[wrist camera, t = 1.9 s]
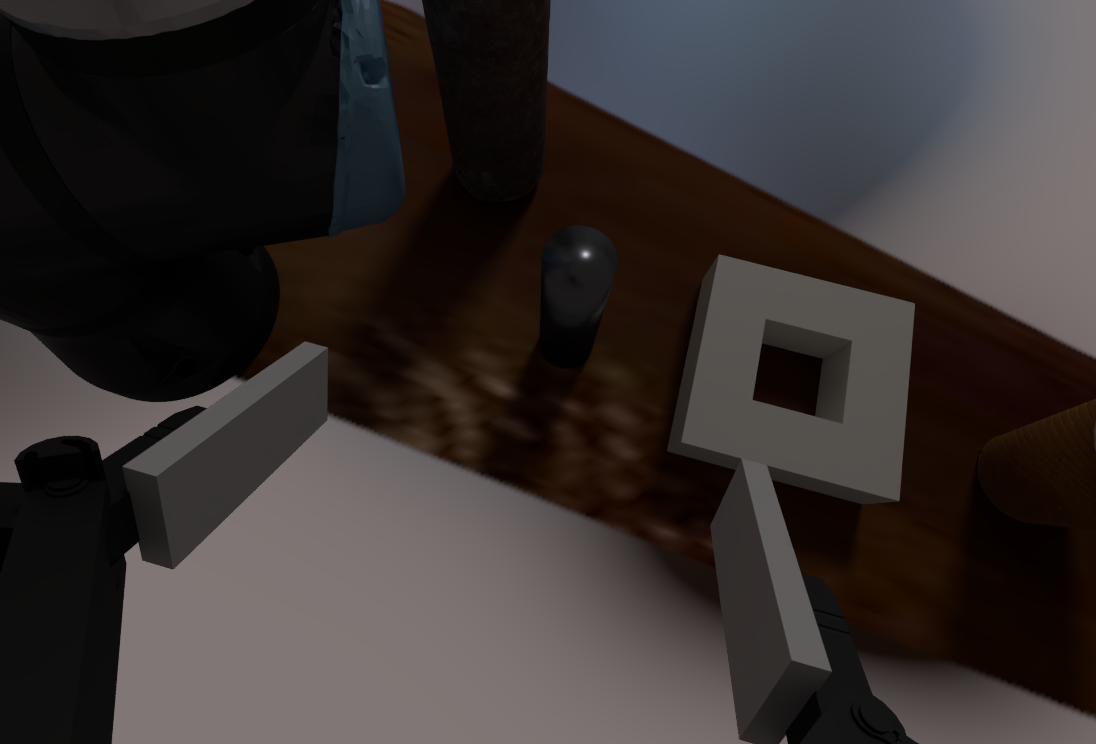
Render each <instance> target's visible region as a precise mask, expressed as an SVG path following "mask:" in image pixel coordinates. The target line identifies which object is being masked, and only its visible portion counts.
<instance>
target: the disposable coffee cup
mask: <svg viewBox="0 0 1096 744" xmlns="http://www.w3.org/2000/svg"><path fill="white" fill-rule="evenodd" d="M977 472H978V477H979V481H980V484H981V487H982V489H983V491H984V492H985V494H986V496H987V497H988V499H989V500H990V501H991V502H992V504H993V505H994V506H995V507H996V508H998V509H999V510H1000V511H1001V512H1002V513H1004V514H1006V515H1007V516H1009V517H1011V518H1013V519H1015V520H1018V521H1021V522H1026V523H1035V524H1044V525H1052V526H1061V527H1069V528H1078V529H1084V530H1093V531H1096V399H1094V400H1092V401H1090V402H1088V403H1087V402H1086V403H1084V404H1082V405H1079V406H1076V407H1073V408H1071V409H1068V410H1065V411H1063V412H1060V413H1058V414H1055V415H1052V416H1050V417H1047V418H1045V419H1042V420H1039V421H1036V422H1034V423H1032V424H1029V425H1026V426H1024V427H1021V428H1018V429H1016V430H1013V431H1011V432H1008V433H1005V434H1003V435H999V436H997V437H994V438H992V439H991V440H990V441H988V442H987V443H986V444H985V446H984V447H983V448H982V450H981V453H980V455H979V458H978V464H977Z"/></svg>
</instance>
